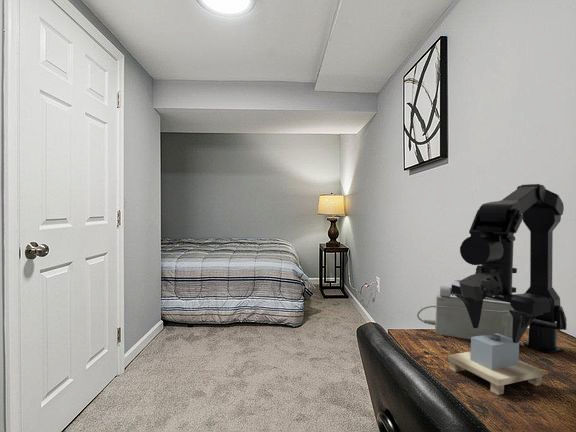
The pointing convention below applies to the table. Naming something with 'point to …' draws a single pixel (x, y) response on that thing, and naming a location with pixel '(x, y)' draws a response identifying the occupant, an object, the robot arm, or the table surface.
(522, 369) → the stand
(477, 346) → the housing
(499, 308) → the geiger counter
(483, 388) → the table surface
